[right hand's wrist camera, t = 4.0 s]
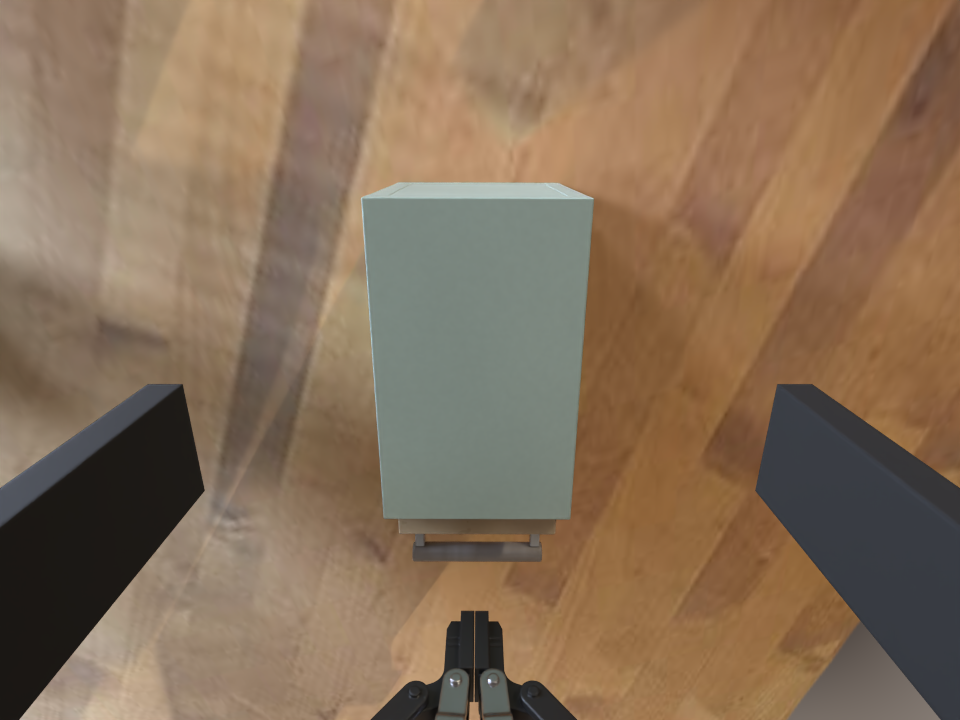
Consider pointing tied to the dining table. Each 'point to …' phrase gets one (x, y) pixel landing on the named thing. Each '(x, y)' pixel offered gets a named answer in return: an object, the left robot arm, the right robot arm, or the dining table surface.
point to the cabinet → (477, 345)
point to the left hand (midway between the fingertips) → (475, 622)
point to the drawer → (477, 549)
